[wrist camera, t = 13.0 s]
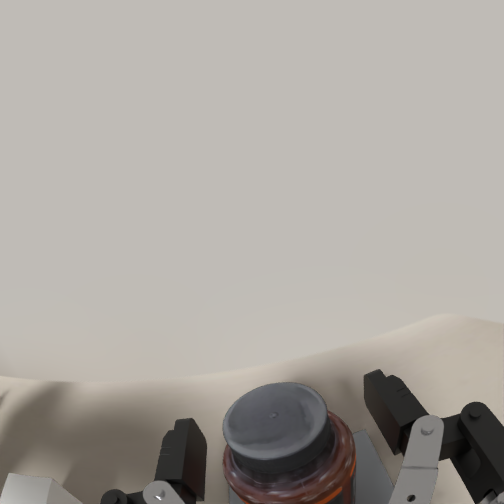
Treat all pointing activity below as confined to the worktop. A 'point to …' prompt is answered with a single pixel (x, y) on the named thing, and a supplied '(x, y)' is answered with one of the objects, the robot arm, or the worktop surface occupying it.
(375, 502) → the slate pad
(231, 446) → the supplement bottle
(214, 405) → the worktop surface
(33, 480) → the white cube
